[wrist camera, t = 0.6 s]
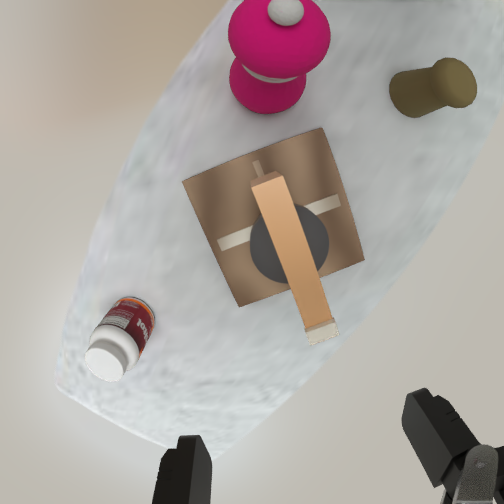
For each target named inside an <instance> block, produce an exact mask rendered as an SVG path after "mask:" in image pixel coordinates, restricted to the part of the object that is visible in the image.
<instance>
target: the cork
mask: <svg viewBox="0 0 504 504" xmlns="http://www.w3.org/2000/svg"><path fill="white" fill-rule="evenodd" d="M389 93H390V96H391V100H392V102H393V103H394V105H395V107H396V108H397V109H398V110H399V111H400V112H401V113H402V114H404V115H406V116H408V117H412V118H417V117H421V116H423V115H426V114H428V113H430V112H433V111H435V110H438V109H440V108H442V107H445V106H447V105H448V106H450V107H454V108H465V107H466V106H468V105H470V104H472V102H473V101H474V99H475V97H476V94H477V84H476V80H475V77H474V75H473V73H472V71H471V70H470V69H469V67H468V66H467V65H466V64H464V63H463V62H461V61H460V60H457V59H455V58H443V59H441V60H438V61H437V62H436V63H435V64H434V65H433V66H432V67H430V68H423V69H416V70H410V71H404V72H400V73H398V74H396V75H395V76H394V77H393V78H392V79H391V82H390V85H389Z"/></svg>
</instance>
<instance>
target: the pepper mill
mask: <svg viewBox="0 0 504 504" xmlns="http://www.w3.org/2000/svg"><path fill="white" fill-rule="evenodd" d="M330 37H331V33H330V27H329V23H328V20H327V18H326V16H325V15H324V13H323V12H322V11H321V9H320V8H319V7H318V6H317V5H316V4H315V3H314V2H313V1H312V0H244V1H243V2H242V3H241V4H240V5H239V6H238V7H237V8H236V10H235V11H234V13H233V15H232V17H231V20H230V23H229V28H228V40H229V43H230V46H231V49H232V51H233V53H234V55H235V56H236V58H235V60H234V61H233V63H232V66H231V69H230V76H229V81H230V87H231V90H232V92H233V94H234V96H235V97H236V98H237V100H238V101H239V102H240V103H241V104H242V105H244V106H245V107H247V108H248V109H250V110H251V111H254V112H256V113H260V114H271V113H278V112H281V111H284V110H286V109H288V108H290V107H291V106H293V105H294V104H295V103H296V102H297V101H298V100H299V98H300V97H301V95H302V93H303V91H304V88H305V85H306V73H307V72H310V71H311V70H312V69H313V68H315V67H316V66H317V65H318V64H319V63H320V62H321V61H322V60H323V58H324V57H325V55H326V53H327V51H328V48H329V44H330Z"/></svg>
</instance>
